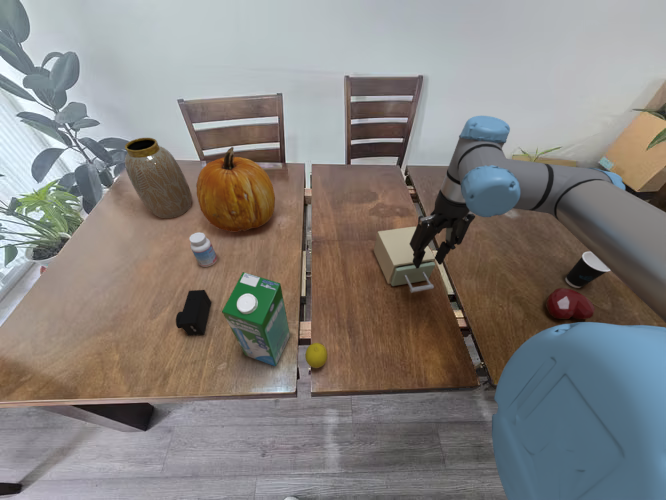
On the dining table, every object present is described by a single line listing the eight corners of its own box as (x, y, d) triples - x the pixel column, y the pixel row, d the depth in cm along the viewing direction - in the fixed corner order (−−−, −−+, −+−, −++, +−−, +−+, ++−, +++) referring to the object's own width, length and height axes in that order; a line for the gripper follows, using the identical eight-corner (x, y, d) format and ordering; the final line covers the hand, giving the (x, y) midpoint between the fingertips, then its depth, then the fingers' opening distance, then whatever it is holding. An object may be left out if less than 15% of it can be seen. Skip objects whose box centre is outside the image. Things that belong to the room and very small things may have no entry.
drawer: (437, 295, 85) (445, 280, 79) (399, 302, 83) (405, 288, 77) (411, 250, 98) (416, 234, 92) (378, 255, 96) (381, 239, 90)
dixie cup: (573, 271, 95) (597, 249, 87) (592, 289, 90) (619, 268, 82) (554, 274, 94) (576, 253, 86) (572, 293, 89) (598, 273, 81)
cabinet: (426, 277, 91) (435, 258, 84) (387, 284, 89) (393, 265, 82) (409, 245, 101) (415, 226, 94) (373, 251, 99) (377, 231, 91)
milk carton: (244, 355, 72) (218, 305, 53) (261, 325, 78) (242, 271, 59) (275, 366, 70) (259, 319, 52) (290, 335, 76) (280, 282, 58)
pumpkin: (270, 197, 118) (258, 127, 96) (283, 231, 104) (273, 158, 82) (206, 209, 111) (178, 137, 89) (211, 248, 97) (179, 173, 75)
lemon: (303, 370, 70) (302, 357, 64) (308, 349, 74) (307, 335, 68) (324, 374, 69) (325, 362, 63) (328, 353, 73) (329, 340, 67)
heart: (532, 293, 87) (546, 323, 82) (549, 281, 81) (566, 313, 75) (568, 293, 88) (584, 323, 82) (588, 282, 82) (607, 314, 76)
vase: (203, 199, 116) (179, 136, 96) (178, 225, 104) (145, 160, 85) (168, 191, 118) (137, 129, 98) (139, 217, 107) (98, 152, 87)
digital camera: (193, 303, 82) (184, 290, 77) (211, 302, 82) (204, 289, 77) (183, 336, 75) (173, 324, 70) (204, 334, 75) (195, 322, 70)
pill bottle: (219, 263, 92) (209, 240, 84) (200, 270, 90) (188, 246, 82) (215, 251, 96) (205, 228, 88) (197, 257, 94) (185, 234, 86)
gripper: (486, 180, 63) (451, 248, 80) (409, 188, 60) (389, 257, 77) (506, 199, 58) (464, 267, 75) (424, 210, 55) (400, 278, 72)
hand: (426, 262), depth 76 cm, fingers open, 6 cm apart
